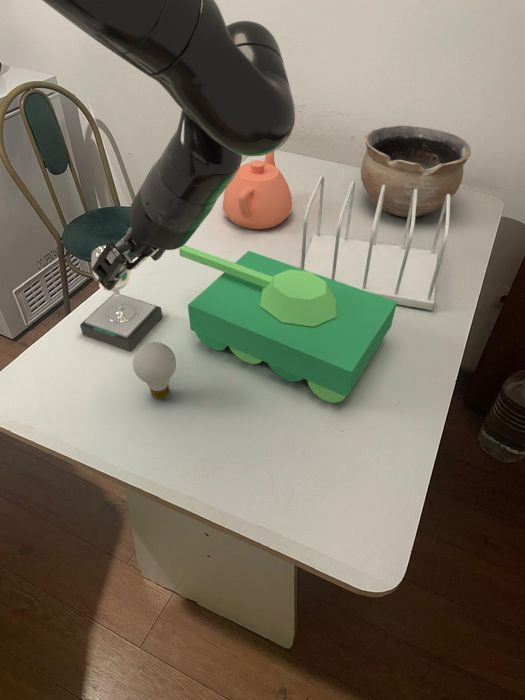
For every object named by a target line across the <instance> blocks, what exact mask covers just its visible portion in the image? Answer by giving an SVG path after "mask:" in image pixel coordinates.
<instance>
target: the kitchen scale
mask: <svg viewBox="0 0 525 700" xmlns="http://www.w3.org/2000/svg"><path fill="white" fill-rule="evenodd" d="M119 300H120V304H121V305H128V306H130V307H132V308H133V309H134V310H135V314H134V316H133V318H131V319H130V320H128V321H126V322H122V323H116V322H113V321H111V320H109V318H108V312H109V311H110V310H111V309H112V308H114V307H116V306H118V304H117V300H116V297H115V296H114V294H113V293H112V294H111V295H110V296H109V297H108V298H107V299H106V300H105V301H103V303H102V304H101V305H100V306H98V307H97V308H96V309H95V310H94V311H93V312H92V313H91V314H90V315H89V316H88V317H87V318H85V319H84V320H83V321H82V322H81V323H79V327H80V330H81V333H82V336H85V337H87V338H91V339H93V340H96V341H99V342H103V343H105V344H108V345H111V346H113V347H116V348H119V349H122V350H124V351H127V352H132V351H133V350H134V349H135V348H136V347H137V346H138V344H139V343H140V342H141V341H143V339H144V338H145V337H146V336H147V334H149V332H150V331H151V330H152V329H153V328H154V327H155V326H156V325H157V324H158V322H159V321H160V320H162V318H163V312H162V307H161V306H158V305H156V304H152V303H148V302H145V301H142V300H139V299H136V298H133V297H130V296H126V295H124V294H119Z"/></svg>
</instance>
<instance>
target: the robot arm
mask: <svg viewBox="0 0 525 700" xmlns="http://www.w3.org/2000/svg"><path fill="white" fill-rule="evenodd" d="M41 1H42V2H44V3H45V4H46V5H48V6H49V7H50V8H52V9H53V10H54V11H55V12H57V13H58V14H59V15H61V16H62V17H63V18H64V19H66V20H68V22H70V23H72V24H73V25H74V26H76V27H77V28H78V29H80V30H81V31H82V32H84V33H85V34H87V35H88V36H89V37H91V38H92V39H93V40H95V41H96V42H98V43H99V44H101V45H102V46H103V47H105V48H106V49H108V50H109V51H111V52H112V53H114V54H115V55H117V56H118V57H120V58H121V59H122V60H124V61H126V62H127V63H128V64H130V65H131V66H132V67H134V68H136V69H137V70H138V71H140V72H141V73H144V75H146V76H148V77H149V78H151V79H153V80H154V81H156V82H157V83H158V84H159V85H160V86H161V87H162V88H163V89H164V90H165V91H166V92H167V94H168V95H169V96H170V97H171V98H172V99H173V101H174V102H175V103H176V104H177V105H178V107H179V108H180V109H181V113H180V117H179V121H178V125H177V128H176V130H175V131H174V133H173V134H172V136H171V138H170V139H169V141H168V143H167V145H166V147H165V148H164V150H163V152H162V153H161V156H160V157H159V158H158V159H157V161H156V162H155V163H154V164H153V165H152V167H151V168H150V170H149V172H148V174H147V176H146V177H145V179H144V180H143V183H142V184H141V186H140V188H139V190H138V192H137V194H136V195H135V197H134V199H133V200H132V203H131V204H130V206H129V211H128V212H129V222H130V228H128V230H127V231H126V233H125V235H124V236H123V237H122V238H121V239H120V240H119V241H118V242H117V243H116V244H115V243H114V242H113V241H112V242H108V243H107V244H105V245H106V247H105V248H104V250H103V251H102V253H101V255H100V256H99V258H98V260H97V261H96V263H95V265H94V266H93V268H92V270H93V271H94V273H96V274H97V276H98V277H99V279H98V281H99V282H100V283H101V284H102V286H103V287H104V288H105V289H106V288H107V289H108V290H111V289H113V288H114V287H115V285H116V284H117V282H118V281H119V279H120V278H121V276H122V275H123V274H124V273H126V272H127V271H128V270H130V271H133V270H136V269H137V268H138V267H139V266H140V265H141V264H142V263H144V262H145V261H146V260H147V259H148V258H151V259H152V260H153V261H155V262H157V261H158V260H160V259H161V257H162V256H163V255H164V253H165V252H166V251H175V250H177V249H178V250H179V248H181V247H182V246H183V245H186V244H187V243H188V241H189V240H190V239H191V237H192V236H193V235H194V234H195V233H196V231H197V230H198V229H199V228H200V227H201V224H203V222H204V221H205V219H206V218H207V217H208V216H209V215H210V213H211V212H212V211H213V208H214V207H215V205H216V203H217V201H218V200H219V198H220V197H221V195H222V194H223V193H224V192H225V190H226V187H227V186H228V185H229V184H230V182H231V181H232V180H233V178H234V177H235V175H236V174H237V172H238V170H239V168H240V166H241V165H242V160H243V156H245V157H261V156H266V154H269V153H272V152H274V153H275V151H277V150H278V149H280V148H281V147H282V146H284V144H285V143H286V142H287V141H288V139H289V137H290V136H291V134H292V132H293V129H294V126H295V123H296V121H295V120H296V107H295V106H296V105H295V101H294V97H293V93H292V89H291V85H290V81H289V79H288V75H287V71H286V67H285V64H284V63H285V62H284V58H283V55H282V52H281V49H280V45H279V44H278V42H277V40H276V38H275V36H274V35H273V33H272V32H270V30H269V29H268V28H267V27H266V26H264V25H263V24H261V23H258V22H256V21H251V20H239V21H235V22H234V21H233V22H231V23H229V24H226V21H225V19H224V16H223V14H222V12H221V10H220V8H219V6H218V4H217V1H215V0H41ZM129 253H130V254H131V255H133V256H134V257H136V259H135V260H132V258H131V257H130V256H129ZM122 266H123V267H122ZM121 267H122V268H121ZM92 270H91V271H92Z"/></svg>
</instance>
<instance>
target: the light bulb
mask: <svg viewBox="0 0 525 700" xmlns="http://www.w3.org/2000/svg"><path fill="white" fill-rule="evenodd" d="M132 366H133V371H134V373H135V375H136V377H137V378H138V379H139V380H141V382H144V383H146V386H147V387H148V388H149V390H150V394H151V396H152V397H153V398H154V399H156V400H162V399H165V398H167V397H168V396H169V394H170V385H169V384H170V379H171V377H172V376H173V375H174V373H175V371H176V369H177V368H176V367H177V358H176V355H175V353H174V351H173V350H172V349H171V348H170V346H168V345H166V344H165V343H162V342H159V341H151V342H147V343H144V344H143V345H141V346H140V347H138V349H137V350H136V351H135V353H134V355H133V359H132Z"/></svg>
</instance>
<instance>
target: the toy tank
mask: <svg viewBox="0 0 525 700" xmlns="http://www.w3.org/2000/svg"><path fill="white" fill-rule="evenodd" d="M178 252H179V257H183V258H185V259H188V260H191V261H193V262H195V263H197V264H201V265H203V266H206V267H209V268H212V269H215V270H217V271H219V272H223V273H222V274H221V275H220V276H219V277H217V278H216V279H215V280H214V281H213V282H212V283H211V284H210V285H208V286H207V287H206V288H205V289H204V290H203V291H201V292H200V293H199V294H198V295H197V296H196V297H195V298H193V299H192V300H191V301H190V303H188V304H187V310H188V319H189V328H190V331H192V332H194V333H195V335H196V336H197V338H198V339H199V341H200V342H201V343H202V344H203V345H205V346H206V347H207V348H209V349H211V350H213V351H217V352H218V351H220V352H221V351H224V350H226V348H229V349H230V351H231V352H232V353H233V354H234V355H235V357H237V358H238V359H239V360H241V361H243V362H244V363H247V364H250V365H257V364H261V362H264V363H266V364H267V365H268V367H269V368H270V369H271V370H272V372H273V373H274V374H275V375H277V376H278V377H280V378H281V379H283V380H286V381H289V382H295V383H296V382H299V381H302V380H303V379H304V380H305V381H307V384H308V386H309V389H310V390H311V391H312V393H313V394H314V395H315V396H316V397H318V398H319V399H320V400H322V401H324V402H328V403H330V404H331V403H332V404H333V403H334V404H336V403H340V402H342V401H343V400H344V399H345V398H348V396H349V394H350V393H351V391H352V389H353V388H354V386H355V385H356V383H357V381H359V378H360V377H361V375H362V373H363V372H364V370H365V369H366V367H367V366H368V364H369V362H370V361H371V360H372V357H374V354H375V353H376V351H377V350H378V348H379V347H380V345H381V343H382V342H383V340H384V339H385V337H386V335H387V334H388V333H389V331H390V329H391V327H392V325H393V324H392V323H393V321H394V316H395V313H396V308H397V305H398V304H397V302H396V301H393V300H390V299H387V298H384V297H381V296H378V295H375V294H372V293H370V292H367V291H364V290H361V289H358V288H355V287H352V286H349V285H346V284H344V283H341V282H338V281H335V280H332V279H329V278H326V277H323V276H320V275H318V274H315V273H312V272H309V271H306V270H303V269H300V268H301V267H297V266H294V265H292V264H288V263H285V262H283V261H279V260H277V259H274V258H272V257H268V256H265V255H263V254H259V253H257V252H254V251H251V250H247V252H246V253H244V254H242V256H241V257H240V258H238V260H236V261H235V262H233V261H230V260H227V259H225V258H221V257H219V256H216V255H214V254H210V253H208V252H205V251H202V250H199V249H196V248H194V247H191V246H188V245H186V244H184V245H183V246H182V247H180V248H178Z"/></svg>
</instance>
